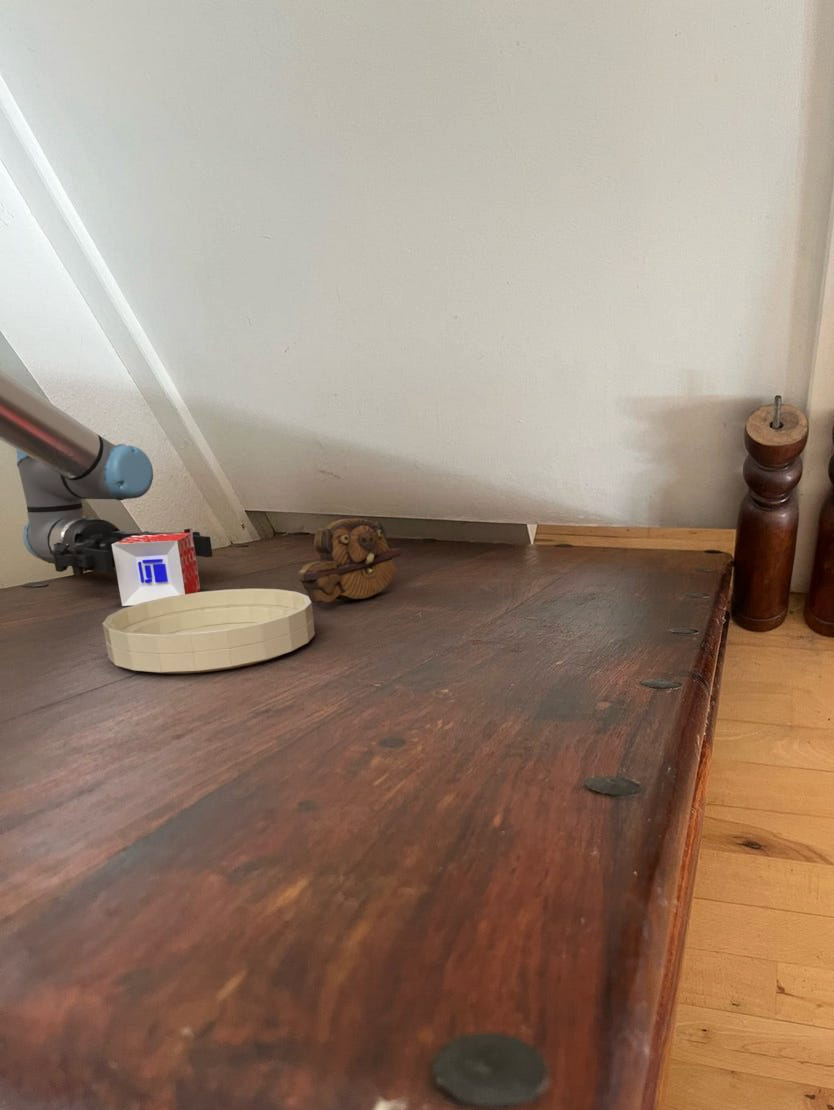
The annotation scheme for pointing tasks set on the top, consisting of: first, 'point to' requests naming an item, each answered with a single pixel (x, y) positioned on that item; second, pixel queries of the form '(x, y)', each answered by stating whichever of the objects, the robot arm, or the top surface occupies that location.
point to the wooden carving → (349, 562)
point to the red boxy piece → (155, 567)
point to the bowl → (208, 630)
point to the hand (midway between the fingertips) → (161, 554)
